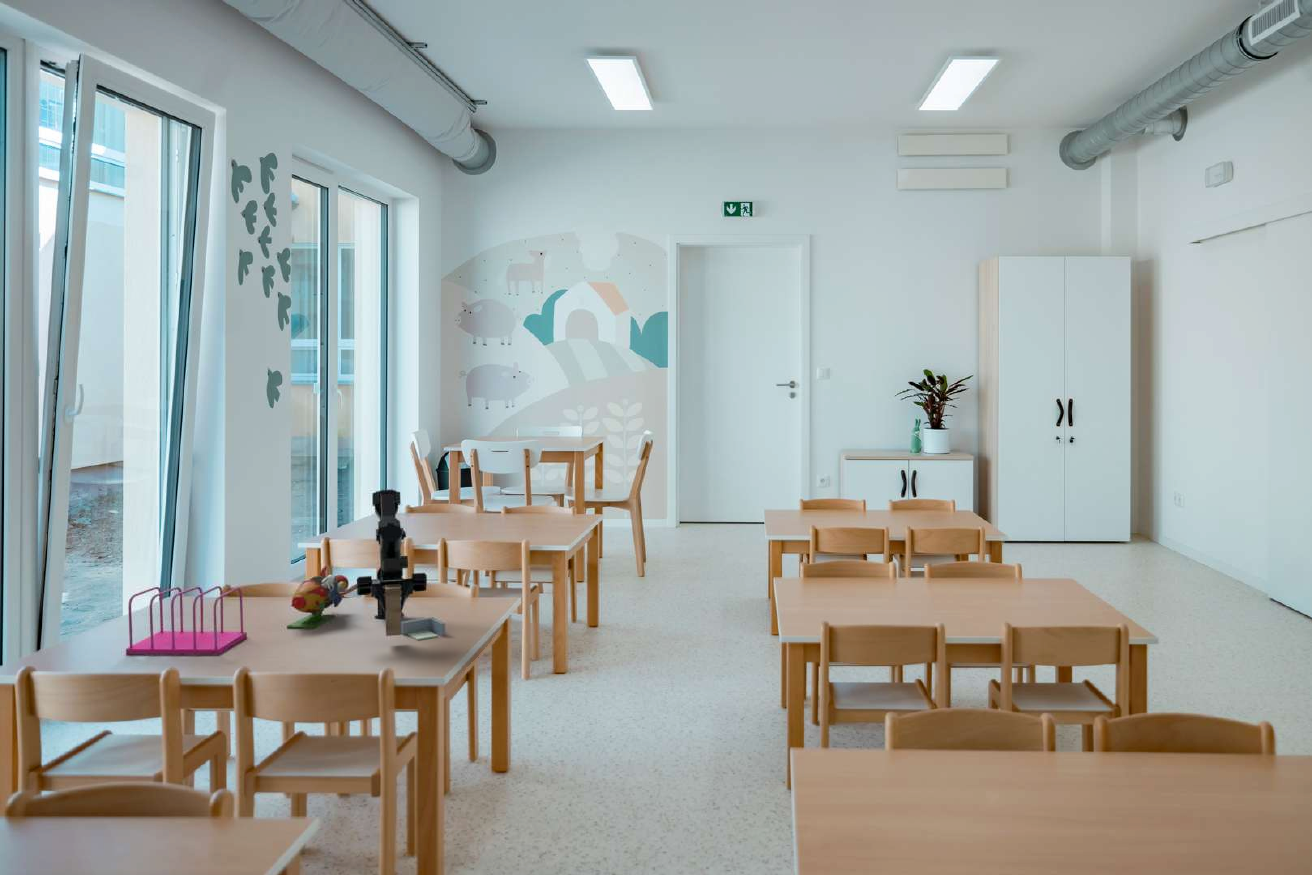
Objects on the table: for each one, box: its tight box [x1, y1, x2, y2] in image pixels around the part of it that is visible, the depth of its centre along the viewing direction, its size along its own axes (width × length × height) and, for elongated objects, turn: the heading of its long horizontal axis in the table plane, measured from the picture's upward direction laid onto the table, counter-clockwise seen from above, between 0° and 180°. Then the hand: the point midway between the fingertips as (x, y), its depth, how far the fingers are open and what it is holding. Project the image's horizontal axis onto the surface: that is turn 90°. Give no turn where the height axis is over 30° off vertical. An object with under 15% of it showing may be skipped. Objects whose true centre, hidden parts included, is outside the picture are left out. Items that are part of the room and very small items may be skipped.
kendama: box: [334, 574, 350, 593], centre depth 325 cm, size 8×6×18 cm
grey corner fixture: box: [401, 616, 446, 641], centre depth 276 cm, size 9×10×4 cm
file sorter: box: [125, 585, 248, 655], centre depth 265 cm, size 17×25×16 cm
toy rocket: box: [286, 565, 346, 630], centre depth 291 cm, size 14×25×15 cm, turn 172°
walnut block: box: [385, 584, 403, 637], centre depth 265 cm, size 5×4×13 cm
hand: (393, 610), depth 264 cm, fingers closed on walnut block, 4 cm apart
